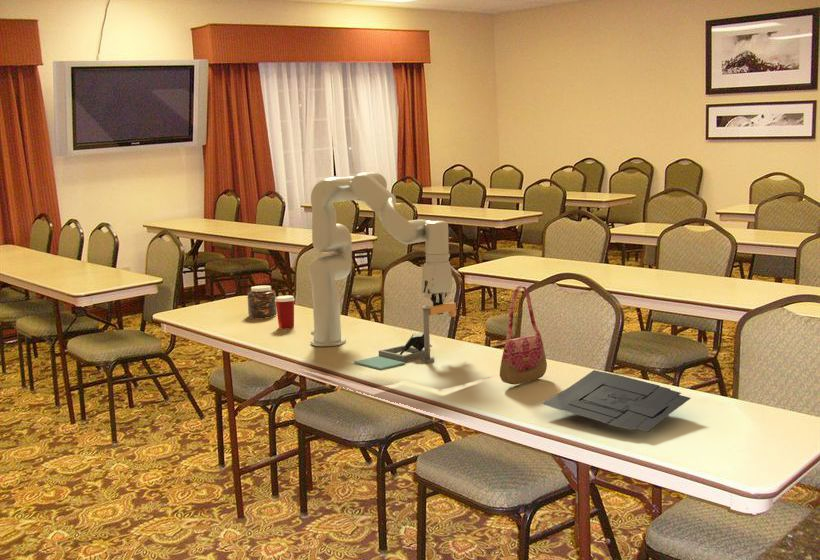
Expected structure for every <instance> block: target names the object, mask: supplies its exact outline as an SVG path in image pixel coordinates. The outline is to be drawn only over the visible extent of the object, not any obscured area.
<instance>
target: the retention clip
mask: <svg viewBox="0 0 820 560" xmlns="http://www.w3.org/2000/svg"><path fill="white" fill-rule="evenodd" d="M421 309H422V310H423V309H429V316H434V315H438V314H440V313H443V314H444V313H448V317H452V318H454V317H457V302H453V301H452V302H447V303H443V304H441V305H436V306H433V305H432V306H430V305H423V306H422V305H421ZM440 315H441V314H440Z"/></svg>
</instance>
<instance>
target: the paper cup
mask: <svg viewBox="0 0 820 560" xmlns="http://www.w3.org/2000/svg"><path fill="white" fill-rule="evenodd" d="M275 301H276V308H277V315H276V316H277V323H278V329H280V328H283V329H282V330H286V329H285V328H290V329H293V328H294V327H295V297H294V295H279V296H276V300H275ZM292 327H293V328H292Z"/></svg>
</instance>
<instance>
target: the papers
mask: <svg viewBox="0 0 820 560" xmlns="http://www.w3.org/2000/svg"><path fill="white" fill-rule="evenodd" d="M681 394H682V392H680V391H676V390H672V389H671V388H668V387H666V386H665V387H664V386H661V385H658V384H656V383H651V382H647V381H643V380H639V379H636V378H631V377H627V376H623V375H620V374H615V373H610V372H605V371H600V370H595V369H594V370H592V371H591V372H589V373H587V374H586V375H585V376H583V377H582V378H580V379H579V380H578V381H576V382H574V383H573V384H571V385H570V386H569V387H567V388H566V389H563V390H562V391H560V392H558V393H557V394H555V395H553V396H551V397H550V398H548V399H546V400H545V401H543V402H542V403H541V405H543V406H546V407H550V408H551V409H552V408H553V409H555V410H560V411H565V412H567V413H572V414H575V415H578V416H582V417H584V418H588V419H592V420H595V421H598V422H601V423H604V424H606V425H609V426H613V427H616V428H619V427H620V428H623V429H626V430H630V431H631V430H632V431H633V430H634V429H637V430H639V431H643V432H649V431H650V430H652V429H653V428H654V427H655V426H657V424H659V423H660V422H661V421H663V420H664V419H665V418H667V417H668V416H669V415H670V414H672V413H673V412H674V411H676V410H677V409H679V408H680V407H682V406H683V405H684V404H685V403H687V402H688V401H689V400H691V399H692V397H690V396H685V395H681Z"/></svg>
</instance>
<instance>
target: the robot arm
mask: <svg viewBox="0 0 820 560" xmlns="http://www.w3.org/2000/svg"><path fill="white" fill-rule="evenodd" d="M387 188H388V184H387V180H386V177H384V176H383V175H382V174H381V173H379V172H373V171H372V172H360V173H357V174H355V175H353V176H337V177H336V176H335V177H327V178H323V179H321V180H320V181H318V182H317V183H316V184H315V185H314V186H313V187H312V190H311V193H310V205H311V215H312V216H311V233H312V234H311V235H312V236H311V237H312V238H311V241H312V246H313V249H315V251H316V252H319V253H329V254H325V255H320V256H317V257H315V258H313V259H312V260H311V262H310V263H309V266H308V269H307V273H308V278H309V280H310V281H309V282H310V287H311V295H312V296H311V297H312V308H313V309H312V310H313V311H312V312H313V331H311V332H310V335H312V336H313V339H311V340H310V345H312V346H314V347H336V346H340V345H343V344H345V343H346V341H347V339H346V338H345V337H343V336H342V326H341V325H342V324H341V307H340V306H341V305H340V294H339V289H338V287H337V284H336V282H335V281H339V280H343V279H345V278H347V277H348V276H349V274H350V273H351V270H352V263H353V262H352V258H353V257H352V256H353V255H352V250H353V249H352V245H353V244H352V243H353V242H352V236H351V232H350V230H349V228H348V227H347V226H346V225H344V224H341V223H337V211H336V208H335V206H334V203H338V202H351V201H358V200H360V201H361V202H362V203H364V204H365V205H366V206H367V207H368V208H369V209H371V210H372V211H373V212H374V213H375V214H376V215H377V216H378V219H379V221H380V223H381V225H382V227H383V228H384V230H385V231H386V232H387V233H388V234H390V235H391V236H392V237H393V239H395V240H396V241H398V242H399V243H402V244H404V245H412V244H416V243H417V244H419V243H422V242H423V243H424V242H425V262H424V263H423V267H422V274H421V275H422V276H421V292H422V293H424V298H425V299H426V298H427V299H430V301H431V302H432V306H436V305H441V304H444V303H445V300H446V297H447V296H449V295H451V293H452V288H453V275H452V273H453V272H452V267H451V263H450V261H449V260H450V259H449V258H450V257H451V254H450V253H449V252H450V251H449V224H448V222H446V221H445V220H428V219H427V220H426V219H424V218H423V219H420V218H419V219H412V220H408V219H406V218H404V217H403V216H402V215H401V214H400V213H399V212H398V211H397V210H396V209H395V206H396V203H397V197H396V195H394V193H392V192H391V191H389V190H388V189H387ZM443 314H444V313H440V314H437V315H439V316H440V315H443Z"/></svg>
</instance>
